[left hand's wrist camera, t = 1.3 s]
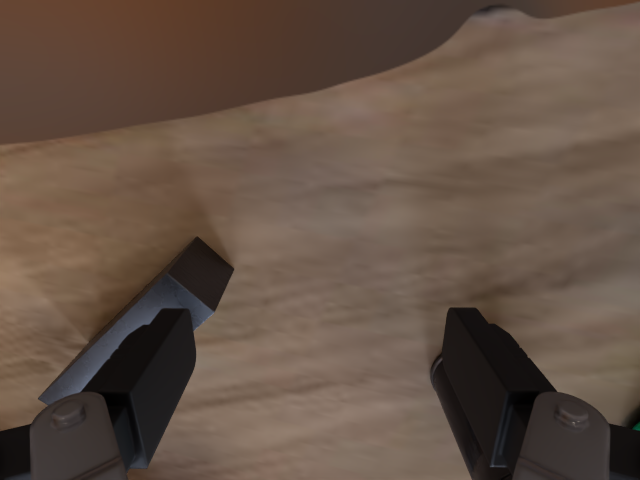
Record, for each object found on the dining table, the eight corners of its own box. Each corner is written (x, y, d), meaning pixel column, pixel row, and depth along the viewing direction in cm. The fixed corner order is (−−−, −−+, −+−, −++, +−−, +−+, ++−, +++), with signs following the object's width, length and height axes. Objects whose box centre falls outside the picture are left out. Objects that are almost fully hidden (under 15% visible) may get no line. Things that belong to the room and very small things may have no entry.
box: (197, 236, 43) (166, 273, 34) (234, 269, 45) (214, 312, 36) (88, 343, 48) (37, 398, 39) (125, 368, 50) (84, 428, 41)
